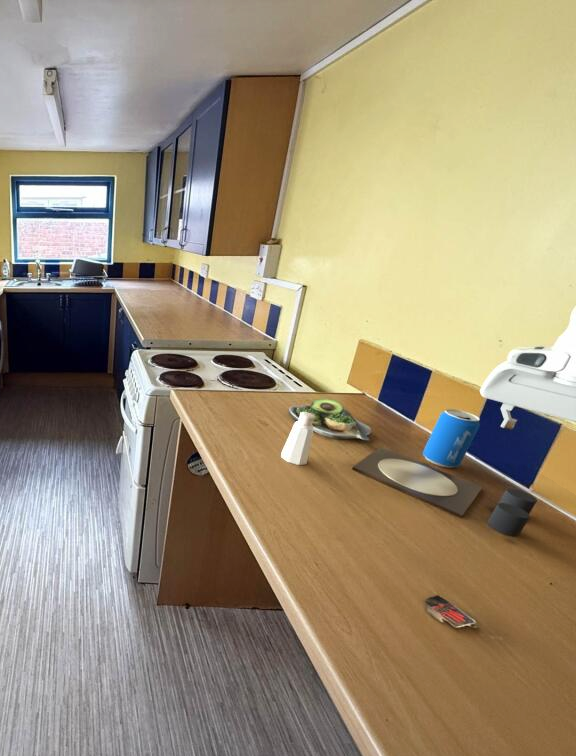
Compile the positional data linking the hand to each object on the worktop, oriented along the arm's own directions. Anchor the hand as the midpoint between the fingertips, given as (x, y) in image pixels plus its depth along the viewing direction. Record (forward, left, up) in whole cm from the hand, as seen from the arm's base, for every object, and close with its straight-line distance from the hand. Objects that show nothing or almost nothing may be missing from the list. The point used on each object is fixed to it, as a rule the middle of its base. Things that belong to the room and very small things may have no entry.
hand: (544, 439), depth 70 cm
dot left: (-1, -1, -15) cm, 16 cm away
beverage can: (+12, -12, -16) cm, 23 cm away
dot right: (-1, +7, -15) cm, 17 cm away
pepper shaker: (+31, +17, -16) cm, 39 cm away
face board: (+13, +2, -15) cm, 20 cm away
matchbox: (0, +39, -16) cm, 42 cm away
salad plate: (+35, -9, -16) cm, 39 cm away
